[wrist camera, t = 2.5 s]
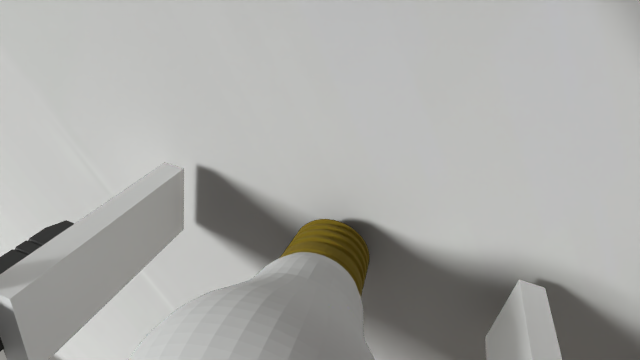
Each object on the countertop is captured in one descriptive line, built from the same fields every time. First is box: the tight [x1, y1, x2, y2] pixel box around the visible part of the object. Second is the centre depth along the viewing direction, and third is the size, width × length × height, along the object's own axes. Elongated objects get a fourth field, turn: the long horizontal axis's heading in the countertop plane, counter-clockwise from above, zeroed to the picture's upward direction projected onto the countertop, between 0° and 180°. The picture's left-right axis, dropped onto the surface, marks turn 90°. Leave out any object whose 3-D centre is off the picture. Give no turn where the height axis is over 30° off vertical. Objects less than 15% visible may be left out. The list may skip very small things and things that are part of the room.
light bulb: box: [128, 219, 375, 360], centre depth 10 cm, size 6×6×10 cm
